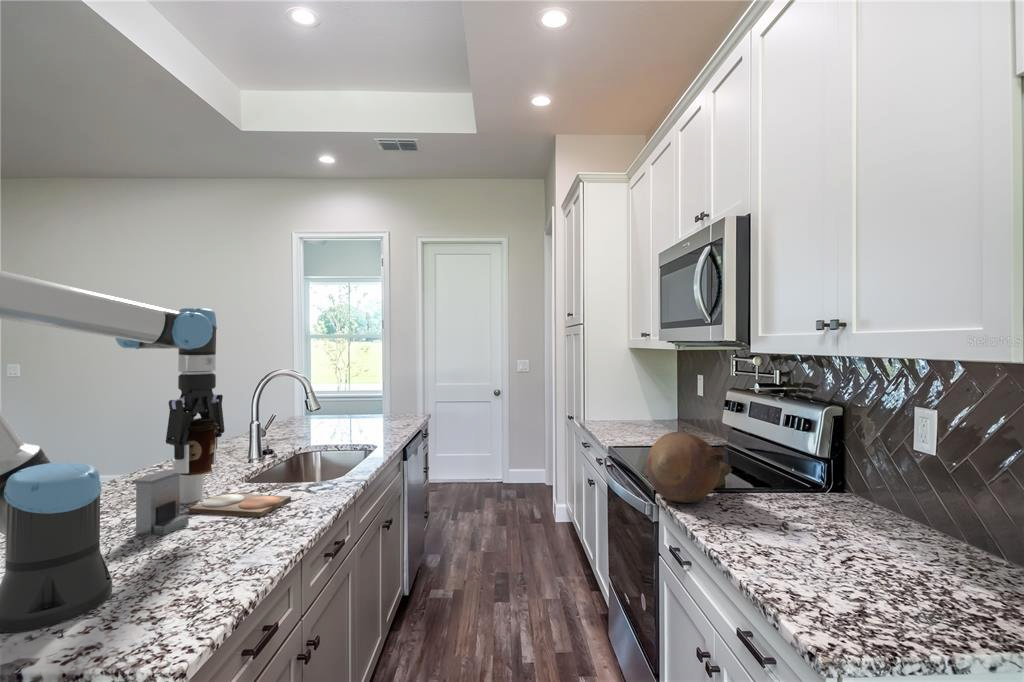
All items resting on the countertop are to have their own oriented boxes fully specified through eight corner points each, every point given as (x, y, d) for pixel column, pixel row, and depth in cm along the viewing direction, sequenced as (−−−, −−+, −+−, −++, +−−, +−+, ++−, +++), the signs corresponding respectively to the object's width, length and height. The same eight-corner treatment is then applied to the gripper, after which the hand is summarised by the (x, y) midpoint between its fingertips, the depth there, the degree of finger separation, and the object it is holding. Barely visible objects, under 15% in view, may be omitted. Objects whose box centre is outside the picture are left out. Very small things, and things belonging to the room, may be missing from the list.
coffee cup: (195, 479, 109) (196, 422, 109) (165, 477, 111) (165, 421, 111) (225, 469, 118) (226, 416, 118) (197, 467, 119) (197, 415, 119)
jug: (678, 517, 123) (743, 514, 139) (700, 445, 121) (763, 450, 138) (623, 482, 140) (686, 483, 156) (641, 418, 138) (703, 426, 155)
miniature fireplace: (160, 536, 111) (160, 481, 111) (132, 534, 112) (132, 480, 112) (191, 522, 120) (191, 471, 120) (165, 520, 121) (165, 470, 121)
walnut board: (260, 516, 123) (260, 511, 123) (188, 512, 126) (188, 507, 126) (291, 500, 136) (291, 495, 136) (224, 497, 139) (224, 491, 139)
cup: (211, 498, 138) (211, 456, 138) (180, 506, 132) (180, 462, 132) (197, 493, 143) (197, 453, 143) (167, 501, 136) (167, 458, 136)
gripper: (175, 375, 104) (174, 481, 104) (241, 370, 124) (241, 458, 124) (145, 375, 105) (144, 479, 105) (215, 370, 125) (215, 457, 125)
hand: (196, 468), depth 114 cm, fingers closed on coffee cup, 8 cm apart
